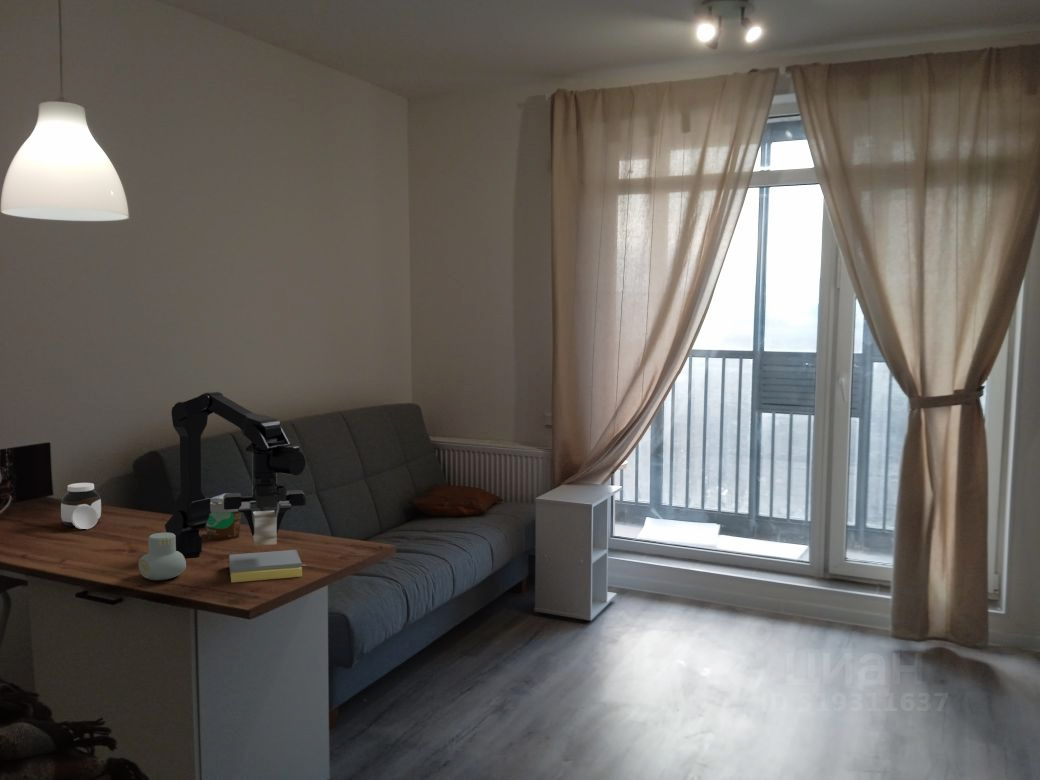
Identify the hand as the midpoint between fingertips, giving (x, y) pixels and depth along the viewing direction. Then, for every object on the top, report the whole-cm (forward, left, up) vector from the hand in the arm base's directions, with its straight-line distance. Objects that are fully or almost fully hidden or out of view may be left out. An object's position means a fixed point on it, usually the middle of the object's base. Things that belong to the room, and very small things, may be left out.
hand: (264, 534), depth 203 cm
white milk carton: (0, 0, -2) cm, 2 cm away
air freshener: (-23, +2, -9) cm, 25 cm away
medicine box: (-8, +50, -9) cm, 51 cm away
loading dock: (0, 0, -9) cm, 9 cm away
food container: (-10, +35, -9) cm, 37 cm away
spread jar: (-46, +59, -9) cm, 75 cm away
